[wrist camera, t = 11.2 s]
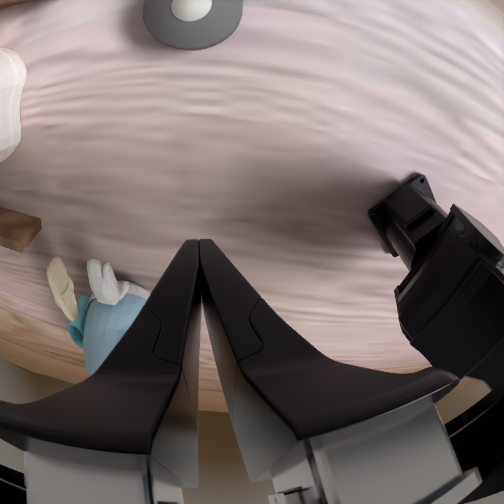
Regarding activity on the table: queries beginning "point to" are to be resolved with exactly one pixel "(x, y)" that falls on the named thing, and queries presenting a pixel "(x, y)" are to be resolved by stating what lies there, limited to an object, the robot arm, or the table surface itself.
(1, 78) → the jar
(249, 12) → the table surface
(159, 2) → the wheel
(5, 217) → the wooden tray
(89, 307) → the blue winged piece
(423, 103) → the table surface
